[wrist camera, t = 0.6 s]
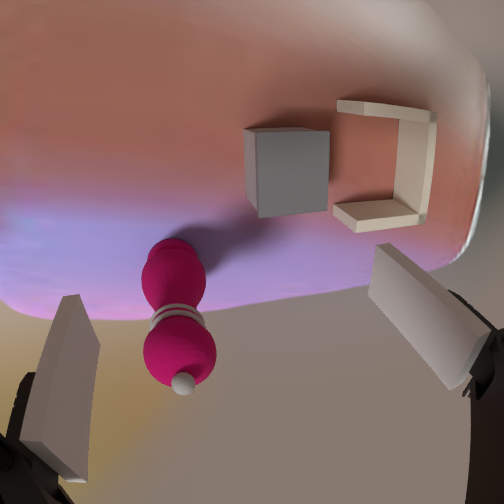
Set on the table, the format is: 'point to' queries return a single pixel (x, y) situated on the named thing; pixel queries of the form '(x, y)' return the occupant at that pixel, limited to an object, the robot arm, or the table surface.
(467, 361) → the robot arm
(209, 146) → the table surface
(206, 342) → the pepper mill
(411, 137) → the bay
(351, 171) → the table surface
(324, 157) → the rounded grey cube
